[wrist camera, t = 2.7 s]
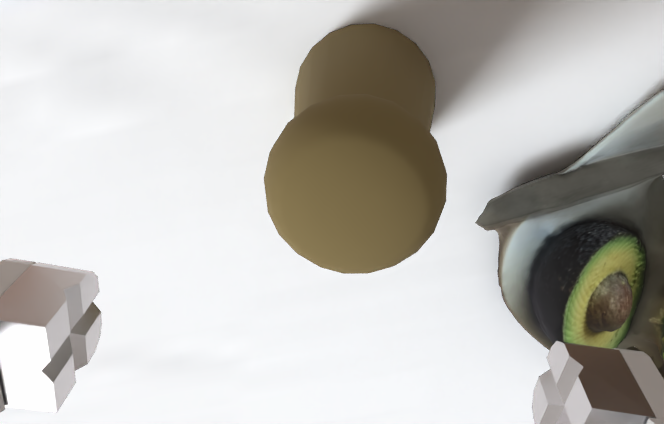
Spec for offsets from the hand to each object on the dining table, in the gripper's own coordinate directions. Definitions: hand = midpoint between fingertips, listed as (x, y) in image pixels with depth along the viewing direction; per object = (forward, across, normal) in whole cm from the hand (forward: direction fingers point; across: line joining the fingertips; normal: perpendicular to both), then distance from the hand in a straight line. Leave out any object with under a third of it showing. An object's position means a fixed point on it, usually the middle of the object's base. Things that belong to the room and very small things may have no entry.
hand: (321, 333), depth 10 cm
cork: (+16, +1, 0) cm, 16 cm away
